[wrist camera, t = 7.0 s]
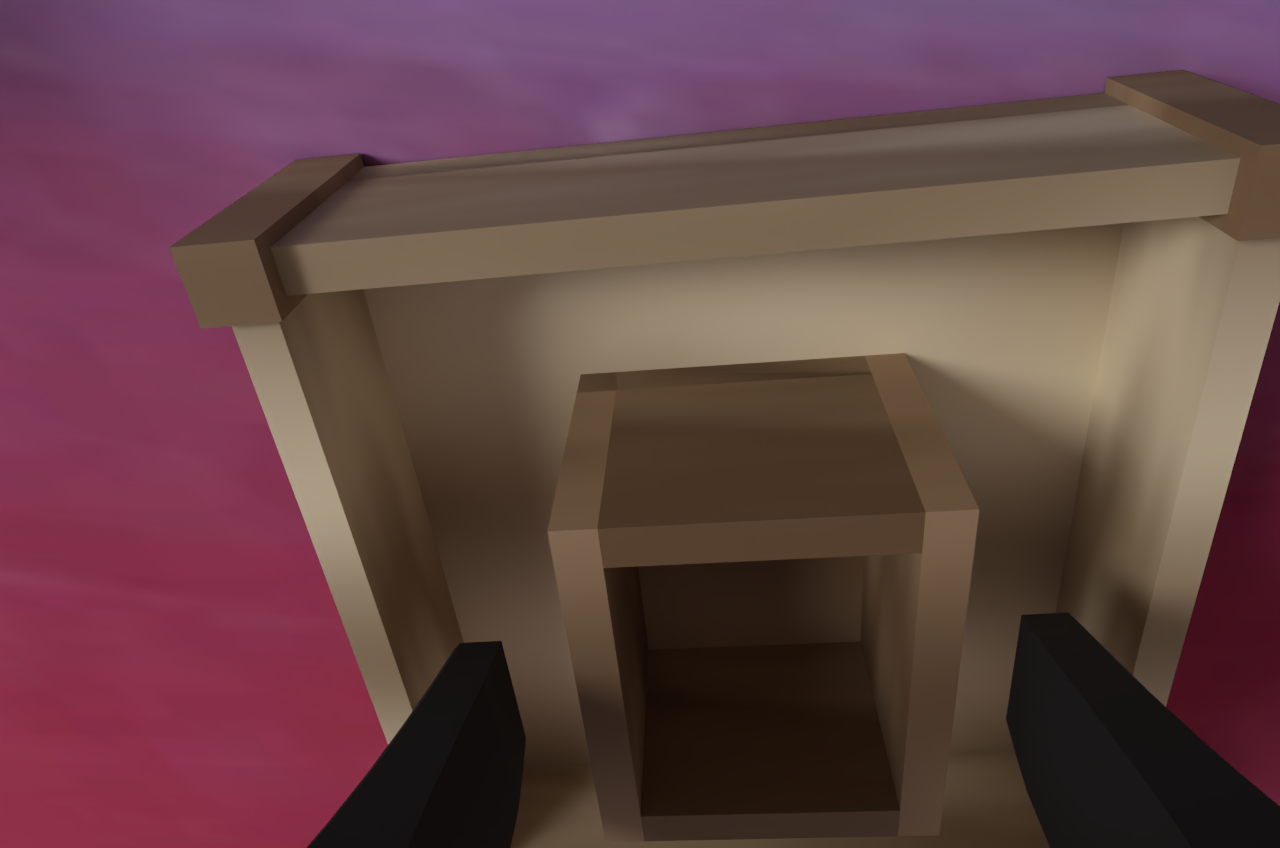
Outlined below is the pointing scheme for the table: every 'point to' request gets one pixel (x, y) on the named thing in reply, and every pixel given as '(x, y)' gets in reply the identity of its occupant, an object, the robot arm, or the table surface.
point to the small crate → (764, 598)
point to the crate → (769, 332)
